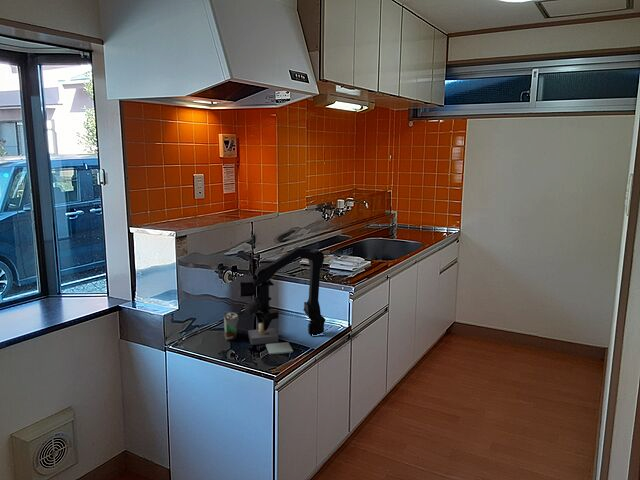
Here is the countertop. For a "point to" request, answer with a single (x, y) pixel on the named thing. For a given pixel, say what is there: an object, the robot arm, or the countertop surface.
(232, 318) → the food container
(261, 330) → the plug
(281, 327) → the countertop surface
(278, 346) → the mat
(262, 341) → the grey square frame
